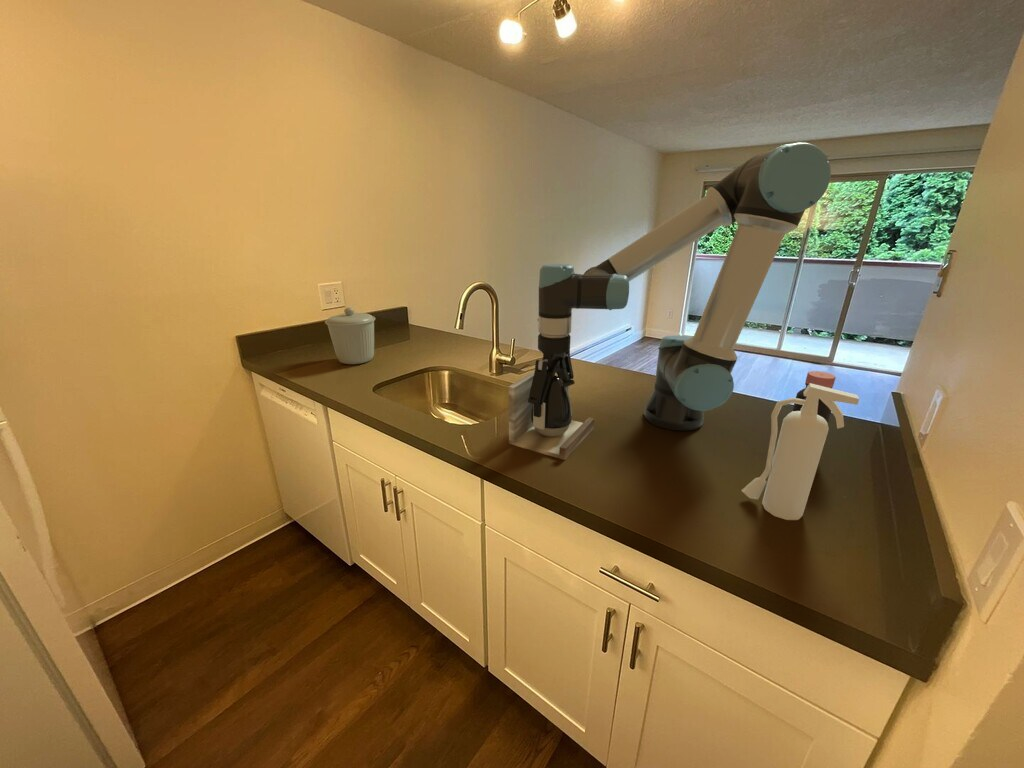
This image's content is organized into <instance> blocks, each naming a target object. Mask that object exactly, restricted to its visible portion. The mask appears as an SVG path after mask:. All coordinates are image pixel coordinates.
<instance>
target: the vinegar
mask: <svg viewBox="0 0 1024 768" xmlns="http://www.w3.org/2000/svg"><path fill="white" fill-rule="evenodd" d="M835 381H836V376H835V374H832V373H829V372H825V371H818V370H811V371H808V372H807V375H806V377H805V388H803V389H801V390H799V391H798V392H797V393H796V395H795V398H798V399H804V400H806V398H807V396H804V393H803V392H804V390H805V389H806V388H807V386H808V385H809V383H811V384H815V385H819V386H824V387H828V388H832V389H833V387H834V385H835ZM802 406H803V405H801V404H795V403H793V407H792V411H801V408H802ZM792 411H791V412H792ZM831 414H832V412H831V410H830V409H829V407H828V406H827V405H826V404H824V403H823V402H822V401H821V400H820V399H819V400H818V411H817V415H819V416H821V417H823V418H824V419H825V420H826V421H827V424H828V425H829V422H830V417H831Z"/></svg>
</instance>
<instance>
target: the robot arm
mask: <svg viewBox="0 0 1024 768" xmlns="http://www.w3.org/2000/svg"><path fill="white" fill-rule="evenodd" d="M831 176H832V167H831V163H830V161H829V159H828V157H827V154H826V153H825V152H824V150H823V149H822V148H820V147H819V146H816V145H815V144H812V143H809V142H794V143H786V144H782V145H780V146H778V147H776V148H774V149H772V150H769V151H767V152H763V153H759V154H757V155H755V156H752V157H750V158H749V159H747V160H746V161H745V162H743V163H742V164H741V165H739V166H738V167H737V168H735V169H734V170H733V171H732V172H730V173H729V174H728V175H726V176H724V177H723V178H722V179H720V180H719V181H718V182H716V183H715V184H714V185H712V186H710V187H709V188H708V189H707V190H706V192H705V193H706V194H705V196H703V197H701V198H700V199H698V200H697V201H696V202H694V203H692V204H691V205H689V206H687V207H686V208H685V209H683V210H682V211H679V212H678V213H677V214H674V216H672V217H671V218H669V219H668V220H666V221H664V222H662V223H661V224H660V225H658V226H656V227H655V228H653V229H651V230H650V231H649V232H647V233H646V234H645V235H643V236H641V237H640V238H638V239H636V240H635V241H633V242H632V243H630V244H629V245H627V246H625V247H624V248H622V249H621V250H619V251H618V252H616V253H614V254H613V255H611V256H610V257H608V258H607V259H606V260H604V261H602V262H600V263H599V264H597V265H596V266H592V267H590V268H589V269H587V270H585V272H584V273H582V274H581V273H575V270H574V266H573V265H572V264H568V263H567V264H566V263H564V264H563V263H547V264H544V265H542V266H541V268H540V269H539V277H538V281H539V282H538V318H537V319H536V320H537V322H538V323H537V325H538V333H539V334H538V335H537V350H538V351H539V352H541V353H542V359H541V360H540V359H537V360H535V364H534V365H535V366H534V371H535V372H534V371H533V372H534V377H533V381H532V385H531V390H530V394H529V398H528V403H532V404H533V427H535V428H539V429H545V403H543V402H544V399H545V396H546V393H547V390H548V387H549V384H550V381H551V379H552V378H554V376H555V375H556V376H558V377H560V378H561V379H562V381H563V382H566V381H570V380H574V371H573V365H572V360H571V338H572V337H571V335H570V334H571V332H572V319H573V318H572V315H573V314H572V313H573V312H572V311H573V309H576V310H577V309H578V310H579V309H581V310H582V309H583V310H586V309H587V310H589V309H590V310H608V311H612V310H623V309H625V308H626V307H627V305H628V303H629V302H628V301H629V296H630V282H631V281H632V280H635V279H636V278H638V277H639V276H641V275H642V274H644V273H645V272H647V271H650V270H651V269H652V268H654V267H655V266H658V265H659V264H660V263H662V262H664V261H665V260H667V259H668V258H670V257H672V256H673V255H675V254H677V253H679V252H680V251H681V250H684V248H686V247H688V246H690V245H691V244H693V243H695V242H696V241H698V240H699V239H701V238H703V237H704V236H706V235H708V234H709V233H711V232H713V231H714V230H716V229H718V228H719V227H721V226H724V227H729V226H731V225H732V224H734V223H737V227H736V231H735V233H734V235H733V238H732V240H731V243H730V245H729V248H728V250H727V253H726V256H725V258H724V260H723V262H722V266H721V268H720V271H719V272H718V275H717V277H716V280H715V283H714V284H713V287H712V290H711V293H710V296H708V297H709V298H708V300H707V302H706V304H705V308H704V310H703V312H702V315H701V317H700V320H699V322H698V324H697V328H696V329H695V332H694V334H693V335H667V336H664V337H662V338H661V339H660V342H659V347H658V355H657V365H656V371H655V372H656V373H655V379H654V380H655V381H654V386H653V388H654V389H653V391H652V393H651V394H650V396H649V399H648V401H647V402H646V404H645V407H644V412H643V413H644V414H643V415H644V418H645V419H646V420H647V422H649V423H651V424H653V425H655V426H656V427H660V428H662V429H667V430H672V431H692V430H693V431H694V430H697V429H699V428H701V427H702V426H703V424H704V419H705V414H704V412H706V411H711V410H714V409H715V408H719V407H720V406H722V405H724V404H725V403H727V401H728V400H729V399H730V397H731V396H732V395H733V392H734V387H735V383H734V377H733V376H732V371H733V370H734V368H735V364H737V363H736V362H737V360H738V355H737V354H736V351H735V346H736V344H737V341H738V340H739V337H740V336H741V332H743V331H742V330H743V329H744V327H745V324H746V321H747V319H748V318H749V315H750V313H751V310H752V308H753V307H754V304H755V301H756V300H757V297H758V296H759V293H760V291H761V288H762V286H763V284H764V282H765V279H766V277H767V275H768V273H769V271H770V268H771V266H772V263H773V261H774V259H775V257H776V255H777V252H778V251H779V247H780V245H781V244H782V241H783V238H784V237H785V235H787V234H789V233H791V232H793V231H794V230H796V229H798V227H799V224H800V222H801V220H802V218H803V216H804V214H805V212H806V210H807V209H809V208H811V207H812V206H814V205H816V203H818V202H819V201H820V200H821V199H822V197H823V196H824V195H825V193H826V192H827V189H828V187H829V185H830V182H831V179H832V178H831ZM566 389H567V391H568V394H569V395H570V386H568V387H566Z"/></svg>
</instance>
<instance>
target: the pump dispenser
mask: <svg viewBox="0 0 1024 768" xmlns="http://www.w3.org/2000/svg"><path fill="white" fill-rule="evenodd" d="M575 383H576V382H575V379H571V380H570V381H566V382H563V381H562V379H561V378H560V377H558V375H557V374H555V376H554V378H552V379H551V381H550V384H549V387H548V390H547V393H546V396H545V399H544V402H543V403H545V429H539V428H535V427H534V428H535V429H536V430H537V431H538V432H539V433H540V434H542V435H544V436H548V437H555V436H559V435H562V434H563V433H565V432H566V431H567V429H568V428H569V425H570V423H571V422H572V420H573V411H572V404H571V399H570V393H569V394H568V391H567V389H566V387H568V386H569V387H571V386H572V385H575ZM531 421H532V422H533V405H532V411H531Z"/></svg>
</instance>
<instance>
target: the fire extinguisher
mask: <svg viewBox="0 0 1024 768" xmlns="http://www.w3.org/2000/svg"><path fill="white" fill-rule="evenodd" d="M805 388H806V387H805ZM803 393H804V396H807V398H806V400H804V399H798V398H796V397H791V398H787V399H783V400H780V401H779V400H778V401H777V402H776V403H775V406H774V408H773V410H772V412H771V415H770V419H771V421H770V424H771V425H770V426H771V427H770V430H771V433H770V437H769V444H768V451H767V457H766V464H765V467H764V471H763V472H762V473H761V475H760V476H759V477H755V478H753V480H751V481H750V482H749V483H748V484H747V485H746V486H744V487H743V488H742V489H741V492H742V493H744V495H745V496H746V497H748V498H749V499H751V500H759V498H760V497H761V495H762V492H763V491H764V494H763V497H762V500H761V501H762V502H761V505H762V506H763V509H764V510H765V511H766V512H768V513H769V514H771V515H772V516H773V517H777V518H779V519H783V520H785V521H798V520H800V519H801V518H802V517H803V516H804V512H805V509H806V506H807V503H808V499H809V496H810V492H811V488H812V486H813V482H814V480H815V477H816V473H817V470H818V466H819V463H820V461H821V460H820V459H821V456H822V452H823V449H824V445H825V443H826V440H827V436H828V433H829V430H830V429H829V423H828V424H827V421H826V420H825V419H824V418H823V417H821V416H819V415H817V411H818V400H819V399H820V400H821V401H822V402H823V403H824V404H826V405H827V406H828V407H829V409H830V410H831V414H832V415H833V417H835V422H836V423H835V424H836V429H841V428H844V427H845V422H844V421H845V420H844V413H843V411H842V410H841V408H840V406H839V405H838V403H844V404H851V405H855V406H856V405H858V404H859V402H860V401H859V400H860V398H859V395H858V394H855V393H851V392H847V391H844V390H843V391H842V390H839V389H835V388H833V387H832V388H828V387H824V386H819V385H815V384H811V383H809V385H808V386H807V388H806V389H805V390H804V392H803ZM836 402H837V403H836ZM794 403H795V404H801V405H803V406H802V408H801V411H791V412H789V413H788V414H787V415H786V416H785V417H784V418H783V419H782V423H781V427H780V431H779V430H778V429H779V428H778V416H779V413H780V411H781V409H782V407H783V406H786V405H791V404H794ZM778 433H779V435H778ZM777 437H778V438H777ZM767 478H768V479H767ZM766 479H767V480H766ZM764 488H765V490H764Z"/></svg>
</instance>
